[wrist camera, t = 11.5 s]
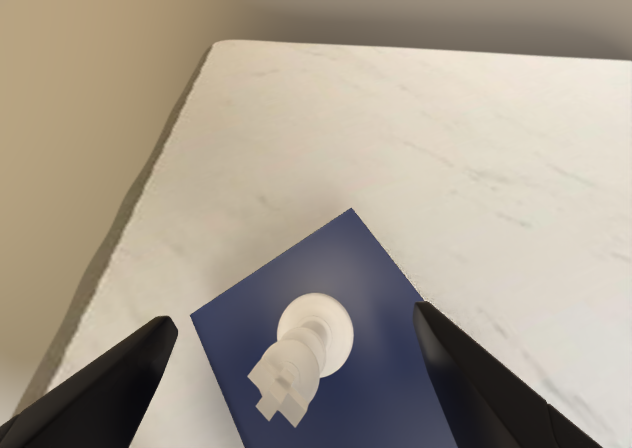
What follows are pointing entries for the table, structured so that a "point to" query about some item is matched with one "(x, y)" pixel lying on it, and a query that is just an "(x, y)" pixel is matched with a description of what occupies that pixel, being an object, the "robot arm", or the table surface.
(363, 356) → the blue book
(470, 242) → the table surface
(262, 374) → the chess piece
